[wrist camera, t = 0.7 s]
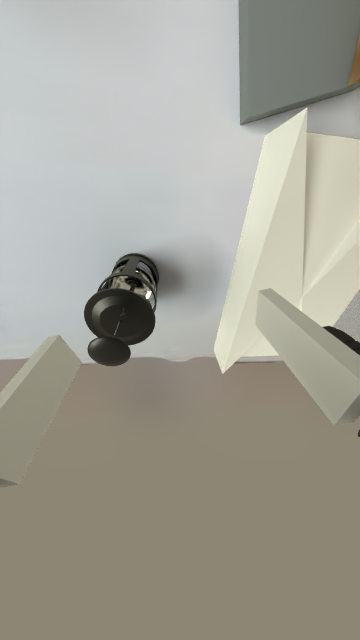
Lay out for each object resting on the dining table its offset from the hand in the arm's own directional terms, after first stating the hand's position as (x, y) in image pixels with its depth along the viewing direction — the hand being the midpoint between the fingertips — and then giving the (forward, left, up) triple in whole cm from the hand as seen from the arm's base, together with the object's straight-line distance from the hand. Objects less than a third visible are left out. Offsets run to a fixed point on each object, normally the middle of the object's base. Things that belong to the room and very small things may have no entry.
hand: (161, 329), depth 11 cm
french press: (+5, -7, -27) cm, 28 cm away
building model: (+13, +24, -27) cm, 39 cm away
